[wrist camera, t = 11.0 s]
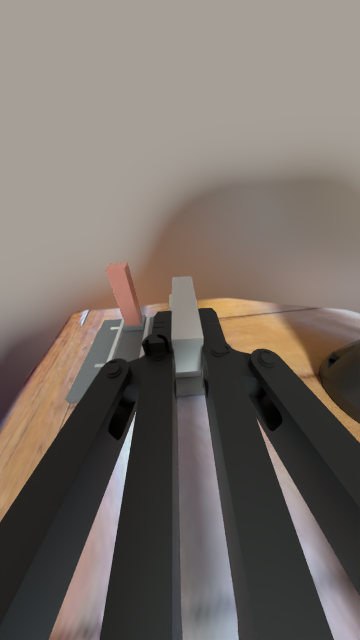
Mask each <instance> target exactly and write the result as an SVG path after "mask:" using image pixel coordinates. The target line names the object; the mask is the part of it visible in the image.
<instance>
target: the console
mask: <svg viewBox="0 0 360 640" xmlns="http://www.w3.org/2000/svg"><path fill="white" fill-rule="evenodd" d="M153 320H154V317H147V318H146V322H145V328H144V330H132V331H123V328H122V327H123V324H124V319H119V320H105V321H104V322H103V324H102V326H101V328H100V330H99V332H98V334H97V336H96V339H95V341H94V343H93V345H92V347H91V349H90V351H89V353H88V355H87V357H86V359H85V361H84V363H83V365H82V367H81V369H80V371H79V373H78V375H77V377H76V379H75V381H74V383H73V385H72V387H71V389H70V391H69V393H68V395H67V397H66V401H67V402H69V403H79V401H80V400H81V398H82V397H83V395H84V394H85V392H86V390H87V389H88V387H89V386H90V384H91V383H92V381H93V380H94V378H95V377H96V375H97V374H98V372H99V371H100V369H101V368H102V367H103V365H104V364H105V363H107V362H108V361H110V360H113V359H116V358H122V359H124V360H126V361H127V362H129V361H132V360H135V359H138V358H140V357H142V356H143V355H145V353H144V350H143V347H142V342H143V340H144V339H145V338H146V337H147V336H148V335H150V334H152V329H153V328H152V327H153ZM176 382H177V397H178V396H193V395H205V391H204V387H203V371H201V376H195V377H180V378H176Z"/></svg>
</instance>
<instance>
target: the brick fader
mask: <svg viewBox="0 0 360 640" xmlns="http://www.w3.org/2000/svg"><path fill="white" fill-rule="evenodd" d="M106 273H107V275H108V278H109V281H110V284H111V286H112V289H113V292H114V295H115V297H116V300H117V303H118V305H119V308H120V311H121V314H122V317H123V319H124V324H123V327H122V328H123V331H132V330H144V328H145V322H146V317H145V316H142V315H141V311H140V308H139V304H138V300H137V296H136V292H135V289H134V285H133V281H132V277H131V274H130V270H129V266H128V263H116V264H110V265H109V266H108V267H107V269H106Z"/></svg>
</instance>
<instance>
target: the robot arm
mask: <svg viewBox="0 0 360 640" xmlns="http://www.w3.org/2000/svg"><path fill="white" fill-rule="evenodd" d="M152 328H153V329H152V334H150V335H148V336H147V337H146V338H145V339H144V340H143V342H142V347H143V350H144V353H145V355H143V356H142V357H140V358H138V359H135V360H132V361H129V362H127V361H126V360H124V359H122V358H116V359H113V360H110V361H108V362H107V363H105V364H104V365H103V367H102V368H101V369H100V371H99V372H98V374H97V375H96V377H95V378H94V380H93V381H92V383H91V384H90V386H89V387H88V389H87V390H86V392H85V394H84V395H83V397H82V398H81V400H80V401H79V403H78V404H77V406H76V407H75V409H74V410H73V412H72V413H71V415H70V416H69V418H68V420H67V421H66V423H65V424H64V426H63V427H62V429H61V430H60V432H59V433H58V435H57V436H56V438H55V439H54V441H53V442H52V444H51V446H50V447H49V449H48V450H47V452H46V453H45V455H44V456H43V458H42V459H41V461H40V462H39V464H38V465H37V467H36V468H35V470H34V471H33V473H32V475H31V476H30V478H29V479H28V481H27V482H26V484H25V485H24V487H23V488H22V490H21V491H20V493H19V494H18V496H17V497H16V499H15V501H14V502H13V504H12V505H11V507H10V508H9V510H8V511H7V513H6V514H5V516H4V517H3V519H2V520H1V522H0V640H48V639H49V637H50V634H51V632H52V629H53V626H54V624H55V621H56V619H57V616H58V613H59V611H60V608H61V605H62V603H63V600H64V598H65V595H66V592H67V590H68V587H69V585H70V582H71V579H72V577H73V574H74V572H75V569H76V566H77V564H78V561H79V558H80V556H81V553H82V551H83V548H84V545H85V543H86V540H87V538H88V535H89V532H90V530H91V527H92V525H93V522H94V519H95V517H96V514H97V512H98V509H99V506H100V504H101V501H102V498H103V496H104V493H105V491H106V488H107V485H108V483H109V480H110V478H111V475H112V472H113V470H114V467H115V465H116V462H117V459H118V457H119V454H120V451H121V449H122V446H123V444H124V441H125V438H126V436H127V433H128V431H129V428H130V425H131V423H132V420H133V418H134V415H135V412H136V416H135V422H134V428H133V435H132V441H131V447H130V453H129V460H128V466H127V472H126V479H125V485H124V491H123V497H122V504H121V510H120V516H119V522H118V529H117V535H116V541H115V547H114V554H113V560H112V566H111V572H110V579H109V585H108V591H107V597H106V604H105V610H104V616H103V622H102V629H101V635H100V640H183V637H182V623H181V586H180V534H179V482H178V430H177V382H176V372H191V371H203V387H204V391H205V398H206V405H207V412H208V419H209V426H210V432H211V439H212V446H213V453H214V460H215V466H216V473H217V480H218V487H219V494H220V501H221V507H222V514H223V521H224V528H225V535H226V541H227V548H228V555H229V562H230V569H231V576H232V582H233V589H234V596H235V603H236V610H237V619H238V635H239V640H334V639H333V636H332V633H331V630H330V627H329V625H328V622H327V619H326V616H325V613H324V610H323V607H322V605H321V602H320V599H319V596H318V593H317V590H316V587H315V585H314V582H313V579H312V576H311V573H310V570H309V567H308V565H307V562H306V559H305V556H304V553H303V550H302V547H301V545H300V542H299V539H298V536H297V533H296V530H295V527H294V525H293V522H292V519H291V516H290V513H289V510H288V507H287V505H286V502H285V499H284V496H283V493H282V490H281V487H280V485H279V482H278V479H277V476H276V473H275V470H274V467H273V465H272V462H271V459H270V456H269V453H268V450H267V447H266V445H265V442H264V439H263V436H262V433H261V430H260V427H259V425H258V422H257V420H258V421H259V423H260V425H261V427H262V428H263V430H264V432H265V433H266V435H267V437H268V439H269V440H270V442H271V444H272V445H273V447H274V449H275V451H276V452H277V454H278V456H279V457H280V459H281V461H282V463H283V464H284V466H285V468H286V470H287V471H288V473H289V475H290V476H291V478H292V480H293V482H294V483H295V485H296V487H297V488H298V490H299V492H300V494H301V495H302V497H303V499H304V500H305V502H306V504H307V506H308V507H309V509H310V511H311V513H312V514H313V516H314V518H315V519H316V521H317V523H318V525H319V526H320V528H321V530H322V531H323V533H324V535H325V537H326V538H327V540H328V542H329V543H330V545H331V547H332V549H333V550H334V552H335V554H336V556H337V557H338V559H339V561H340V562H341V564H342V566H343V568H344V569H345V571H346V573H347V574H348V576H349V578H350V580H351V581H352V583H353V585H354V586H355V588H356V590H357V592H358V593H359V595H360V443H359V442H358V441H357V440H356V439H355V437H354V436H353V435H352V434H351V433H350V432H349V431H348V430H347V429H346V428H345V427H344V426H343V424H342V423H341V422H340V421H339V420H338V419H337V418H336V417H335V416H334V415H333V414H332V413H331V412H330V410H329V409H328V408H327V407H326V406H325V405H324V404H323V403H322V402H321V401H320V400H319V399H318V398H317V396H316V395H315V394H314V393H313V392H312V391H311V390H310V389H309V388H308V387H307V386H306V385H305V384H304V382H303V381H302V380H301V379H300V378H299V377H298V376H297V375H296V374H295V373H294V372H293V371H292V369H291V368H290V367H289V366H288V365H287V364H286V363H285V362H284V361H283V360H282V359H281V358H280V357H279V356H278V355H277V354H276V353H274V352H272V351H270V350H267V349H257V350H255V351H253V352H252V354H249V353H244V352H239V351H236V350H234V349H232V348H231V347H230V345H228V344H227V343H226V341H225V338H224V335H223V332H222V329H221V326H220V323H219V320H218V317H217V314H216V312H215V311H214V310H213V309H212V308H200V309H198V307H197V302H196V297H195V292H194V287H193V282H192V276H186V277H172V311H162V312H157V314H156V315H155V316H154V320H153V327H152ZM319 374H320V379H321V382H322V384H323V386H324V388H325V390H326V391H327V393H328V394H329V396H330V397H331V398H332V399H333V400H334V402H335V403H336V404H337V405H338V406H339V407H340V408H341V409H342V410H343V411H345V412H346V413H347V414H348V415H349V416H350V417H352V418H353V419H354V420H356V421H357V422H359V423H360V340H358V341H356V342H353V343H351V344H349V345H347V346H345V347H343V348H341V349H338V350H336V351H334V352H332V353H331V354H330V355H328V356H327V358H326V359H325V360H324V361H323V362H322V364H321V366H320V370H319ZM256 418H257V419H256Z"/></svg>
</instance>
